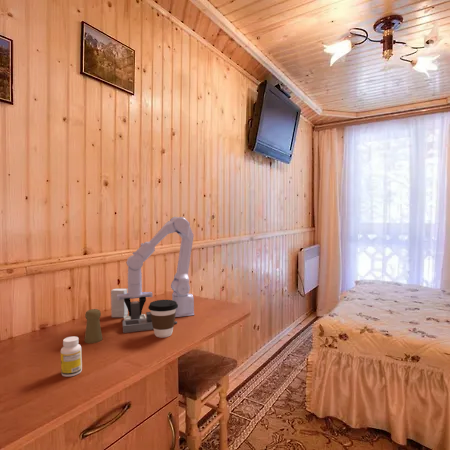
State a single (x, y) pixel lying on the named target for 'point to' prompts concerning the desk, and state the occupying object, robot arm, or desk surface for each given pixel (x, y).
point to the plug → (135, 310)
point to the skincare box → (118, 303)
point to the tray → (130, 317)
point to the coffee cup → (163, 317)
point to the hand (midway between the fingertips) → (135, 315)
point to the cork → (93, 326)
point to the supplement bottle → (71, 357)
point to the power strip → (139, 324)
